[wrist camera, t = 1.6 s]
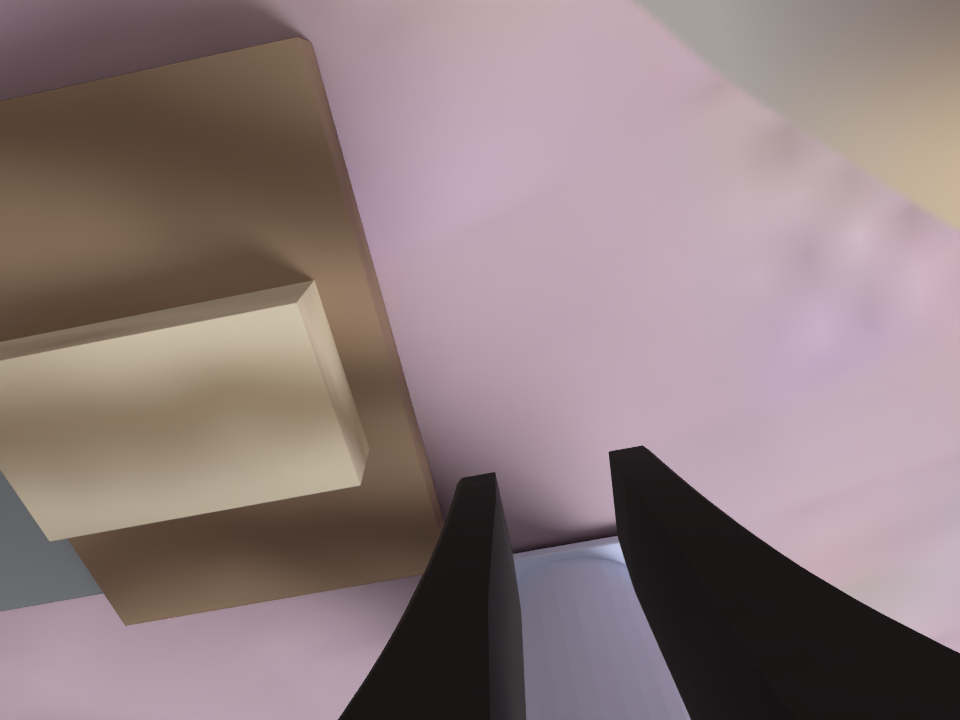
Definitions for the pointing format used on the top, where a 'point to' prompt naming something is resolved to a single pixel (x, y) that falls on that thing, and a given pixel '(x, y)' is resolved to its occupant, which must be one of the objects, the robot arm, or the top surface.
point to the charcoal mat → (35, 560)
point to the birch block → (178, 413)
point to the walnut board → (209, 276)
